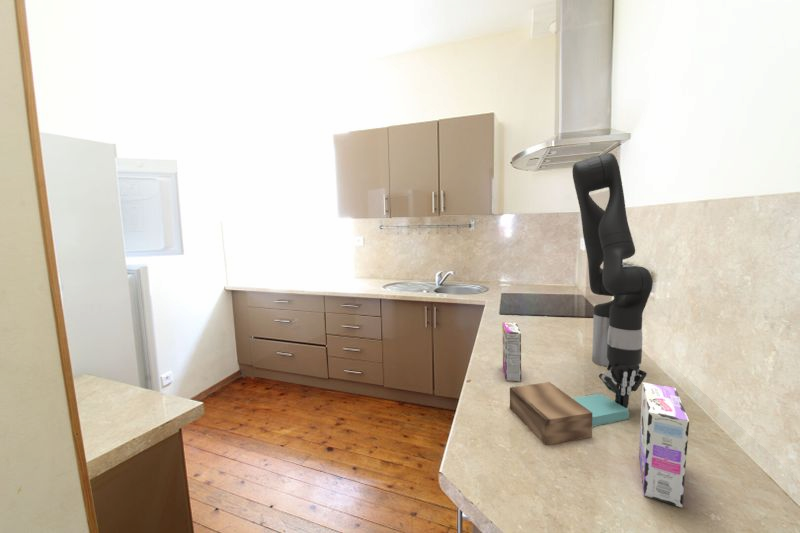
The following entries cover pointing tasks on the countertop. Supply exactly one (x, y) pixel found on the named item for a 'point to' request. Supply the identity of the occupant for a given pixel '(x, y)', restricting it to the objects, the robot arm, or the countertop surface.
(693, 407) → the countertop surface
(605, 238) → the robot arm
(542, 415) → the wood block
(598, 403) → the thin teal board
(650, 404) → the candy box
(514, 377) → the candy bar box
